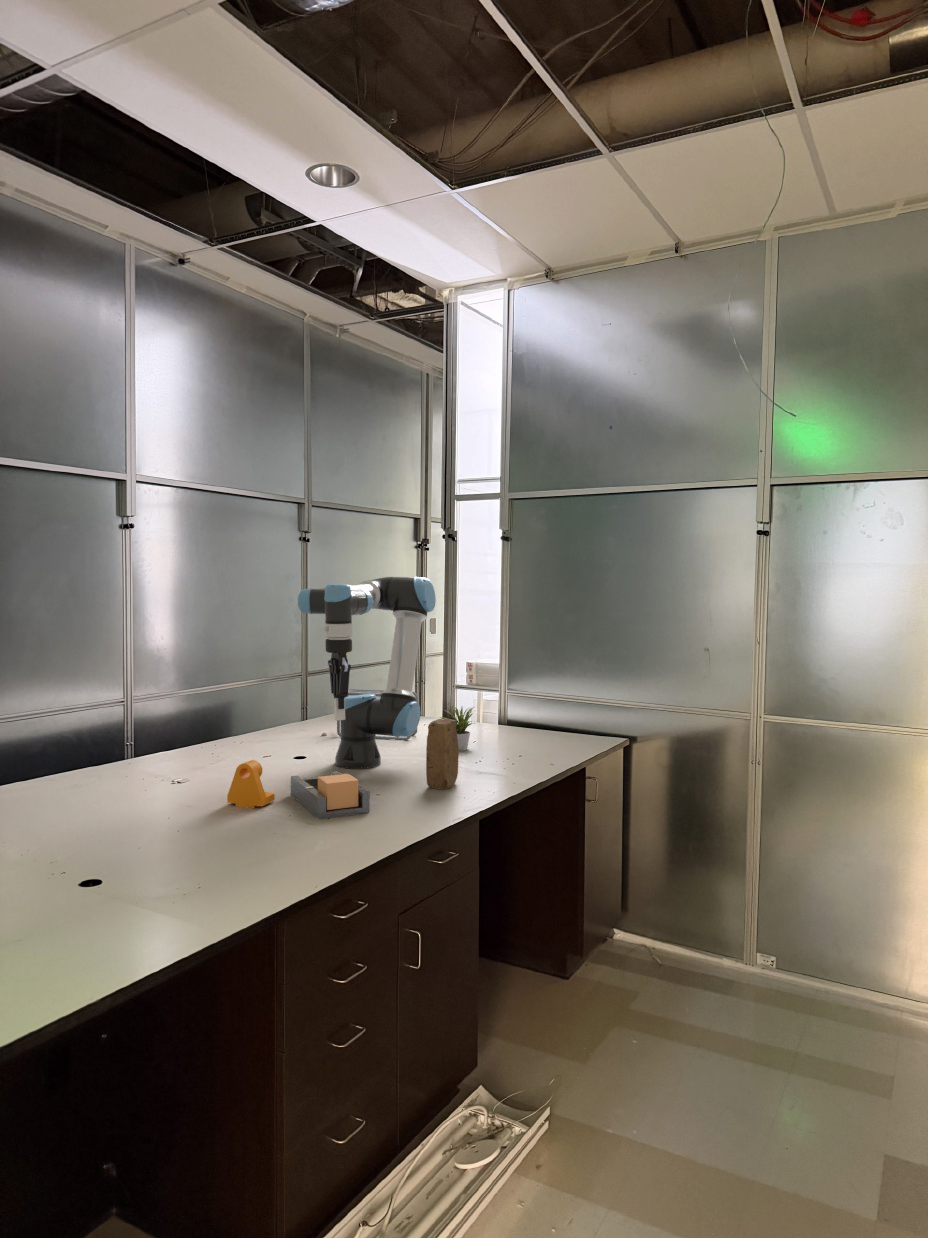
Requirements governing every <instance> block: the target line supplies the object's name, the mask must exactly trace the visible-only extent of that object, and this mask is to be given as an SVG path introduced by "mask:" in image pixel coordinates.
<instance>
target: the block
mask: <svg viewBox="0 0 928 1238" xmlns="http://www.w3.org/2000/svg"><path fill="white" fill-rule="evenodd" d="M427 730H428V732H427V735H426V759H425V761H426V763H425V765H426V766H425V770H426V773H425V775H426V785H427V787H429V788H430V789H431V788H432V789H435V790H446V789H448V790H449V789H451V788H453V787H454V786H455V784H456V782H457V780H458V776H459V775H458V774H459V751H458V736H457V732H456V723H455V720H454V719H451V718H448V719H442V718H438V719H435V720H433V721H431V722H430V723H428V726H427Z"/></svg>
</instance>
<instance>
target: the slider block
mask: <svg viewBox="0 0 928 1238" xmlns="http://www.w3.org/2000/svg"><path fill="white" fill-rule="evenodd" d="M330 775H331V774H330ZM330 775H323V776H322V777H321V776H317V777H318V792H320V793H321V794H322V795H324V796H325V797H326V810H333V809H340V808H348V807H356V806H358V785H359V779H357V778H356V777H354V776H352V775H351V774H349V773H341V775H331V776H330Z"/></svg>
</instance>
